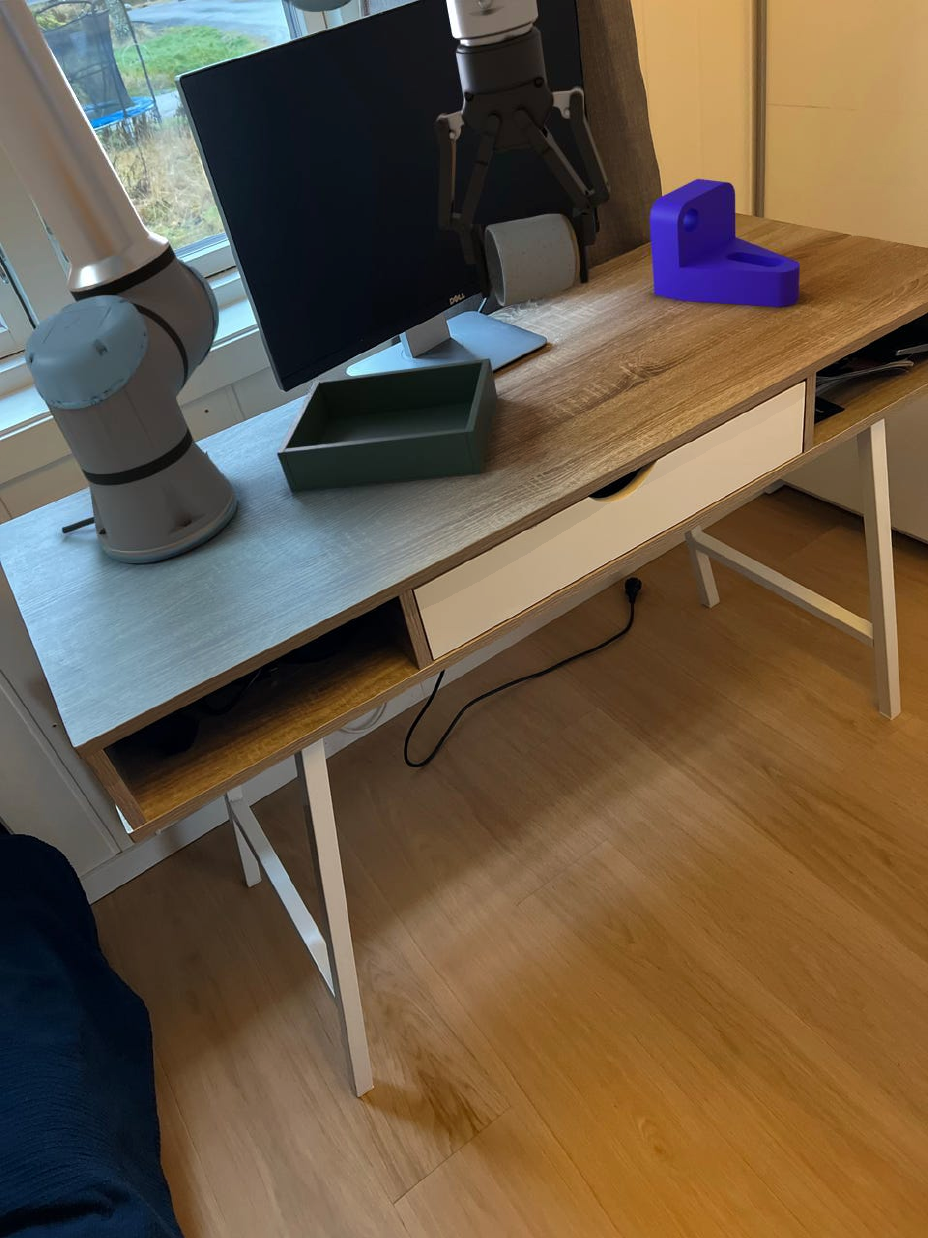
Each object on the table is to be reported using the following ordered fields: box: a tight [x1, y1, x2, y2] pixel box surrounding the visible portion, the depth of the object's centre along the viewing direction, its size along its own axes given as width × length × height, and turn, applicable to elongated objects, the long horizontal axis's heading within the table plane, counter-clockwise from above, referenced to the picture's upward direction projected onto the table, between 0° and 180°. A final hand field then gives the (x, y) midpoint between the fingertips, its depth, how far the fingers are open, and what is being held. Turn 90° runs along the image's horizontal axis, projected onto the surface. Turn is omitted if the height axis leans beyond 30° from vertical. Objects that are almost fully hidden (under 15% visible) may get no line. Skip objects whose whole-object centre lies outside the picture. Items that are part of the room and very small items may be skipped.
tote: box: [276, 357, 498, 493], centre depth 105 cm, size 22×17×5 cm
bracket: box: [649, 178, 801, 308], centre depth 116 cm, size 18×11×12 cm, turn 38°
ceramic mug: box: [483, 213, 580, 308], centre depth 93 cm, size 11×8×8 cm
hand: (535, 285), depth 95 cm, fingers closed on ceramic mug, 9 cm apart
